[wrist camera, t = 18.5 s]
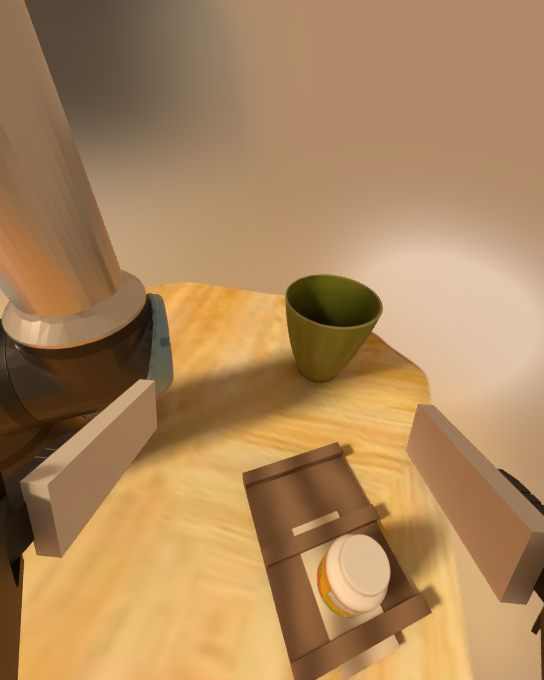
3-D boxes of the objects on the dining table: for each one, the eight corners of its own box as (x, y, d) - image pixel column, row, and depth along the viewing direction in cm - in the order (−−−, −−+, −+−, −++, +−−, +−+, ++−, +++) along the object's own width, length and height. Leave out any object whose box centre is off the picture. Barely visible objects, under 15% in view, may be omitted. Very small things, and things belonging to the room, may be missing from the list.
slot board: (300, 704, 24) (304, 707, 22) (242, 480, 38) (242, 473, 36) (429, 628, 28) (439, 626, 26) (334, 449, 41) (337, 442, 40)
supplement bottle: (329, 540, 32) (348, 510, 26) (374, 574, 30) (407, 552, 24) (306, 591, 29) (321, 572, 22) (355, 634, 27) (388, 627, 20)
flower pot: (372, 371, 54) (401, 302, 43) (322, 415, 46) (342, 342, 35) (314, 333, 62) (326, 266, 51) (263, 364, 54) (265, 293, 43)
